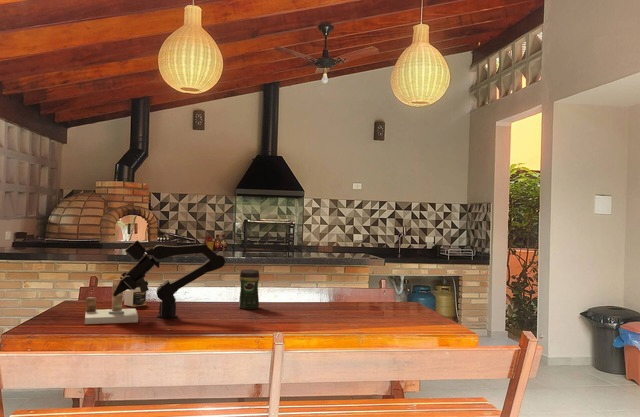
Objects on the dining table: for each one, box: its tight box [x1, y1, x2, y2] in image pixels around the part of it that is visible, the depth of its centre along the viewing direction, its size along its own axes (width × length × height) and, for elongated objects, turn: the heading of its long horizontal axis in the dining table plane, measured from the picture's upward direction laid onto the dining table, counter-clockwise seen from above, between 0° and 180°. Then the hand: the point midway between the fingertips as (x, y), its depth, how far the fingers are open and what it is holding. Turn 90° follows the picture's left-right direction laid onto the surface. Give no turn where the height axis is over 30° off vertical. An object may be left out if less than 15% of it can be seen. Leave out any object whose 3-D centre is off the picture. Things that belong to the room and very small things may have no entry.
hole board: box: [84, 308, 139, 325], centre depth 233 cm, size 20×17×2 cm
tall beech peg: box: [111, 278, 124, 311], centre depth 233 cm, size 4×4×13 cm
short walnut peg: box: [85, 296, 97, 313], centre depth 235 cm, size 4×4×6 cm
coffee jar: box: [238, 268, 260, 310], centre depth 269 cm, size 10×8×19 cm
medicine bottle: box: [123, 284, 147, 308], centre depth 266 cm, size 7×7×12 cm
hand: (113, 294), depth 233 cm, fingers closed on tall beech peg, 4 cm apart
